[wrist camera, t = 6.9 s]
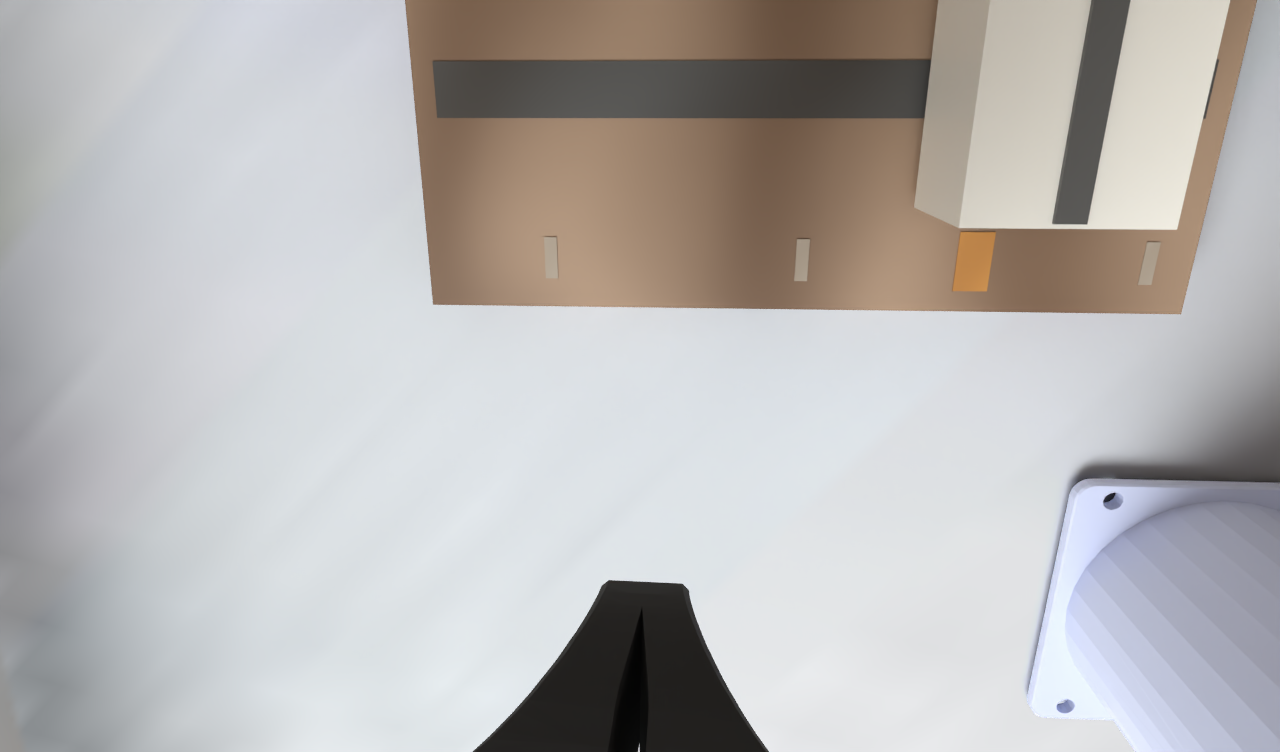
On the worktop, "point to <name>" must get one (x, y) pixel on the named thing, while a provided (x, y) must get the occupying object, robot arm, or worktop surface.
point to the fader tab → (1065, 111)
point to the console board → (737, 164)
